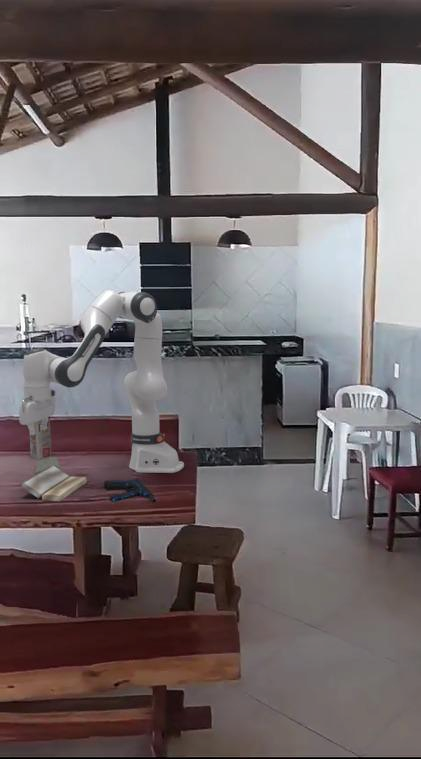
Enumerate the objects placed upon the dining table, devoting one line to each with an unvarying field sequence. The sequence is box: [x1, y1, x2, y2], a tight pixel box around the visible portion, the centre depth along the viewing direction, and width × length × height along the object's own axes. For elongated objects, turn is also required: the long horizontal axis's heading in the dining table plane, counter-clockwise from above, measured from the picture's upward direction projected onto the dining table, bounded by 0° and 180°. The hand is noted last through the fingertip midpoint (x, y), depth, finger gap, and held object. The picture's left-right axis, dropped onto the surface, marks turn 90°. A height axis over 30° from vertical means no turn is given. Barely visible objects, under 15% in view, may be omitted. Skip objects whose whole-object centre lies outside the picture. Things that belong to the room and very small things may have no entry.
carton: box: [29, 416, 53, 460], centre depth 280 cm, size 7×7×22 cm
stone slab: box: [34, 456, 62, 474], centre depth 266 cm, size 22×3×10 cm
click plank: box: [19, 465, 69, 499], centre depth 235 cm, size 8×22×2 cm, turn 166°
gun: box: [103, 478, 157, 503], centre depth 230 cm, size 24×3×15 cm
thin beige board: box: [41, 475, 87, 502], centre depth 233 cm, size 7×22×2 cm, turn 167°
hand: (38, 432), depth 233 cm, fingers open, 7 cm apart
